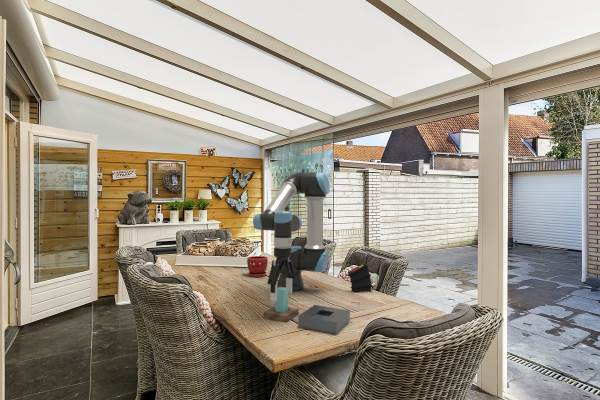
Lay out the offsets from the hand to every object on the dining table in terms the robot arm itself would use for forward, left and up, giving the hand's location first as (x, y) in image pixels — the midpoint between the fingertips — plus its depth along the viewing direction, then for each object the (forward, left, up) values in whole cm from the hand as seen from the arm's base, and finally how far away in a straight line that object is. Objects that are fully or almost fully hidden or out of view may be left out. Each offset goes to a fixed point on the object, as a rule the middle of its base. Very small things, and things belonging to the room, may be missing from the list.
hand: (281, 296), depth 155 cm
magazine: (+18, +56, -9) cm, 60 cm away
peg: (0, 0, -9) cm, 9 cm away
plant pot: (-51, +60, -9) cm, 79 cm away
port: (+20, 0, -9) cm, 22 cm away
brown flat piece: (0, 0, -9) cm, 9 cm away
